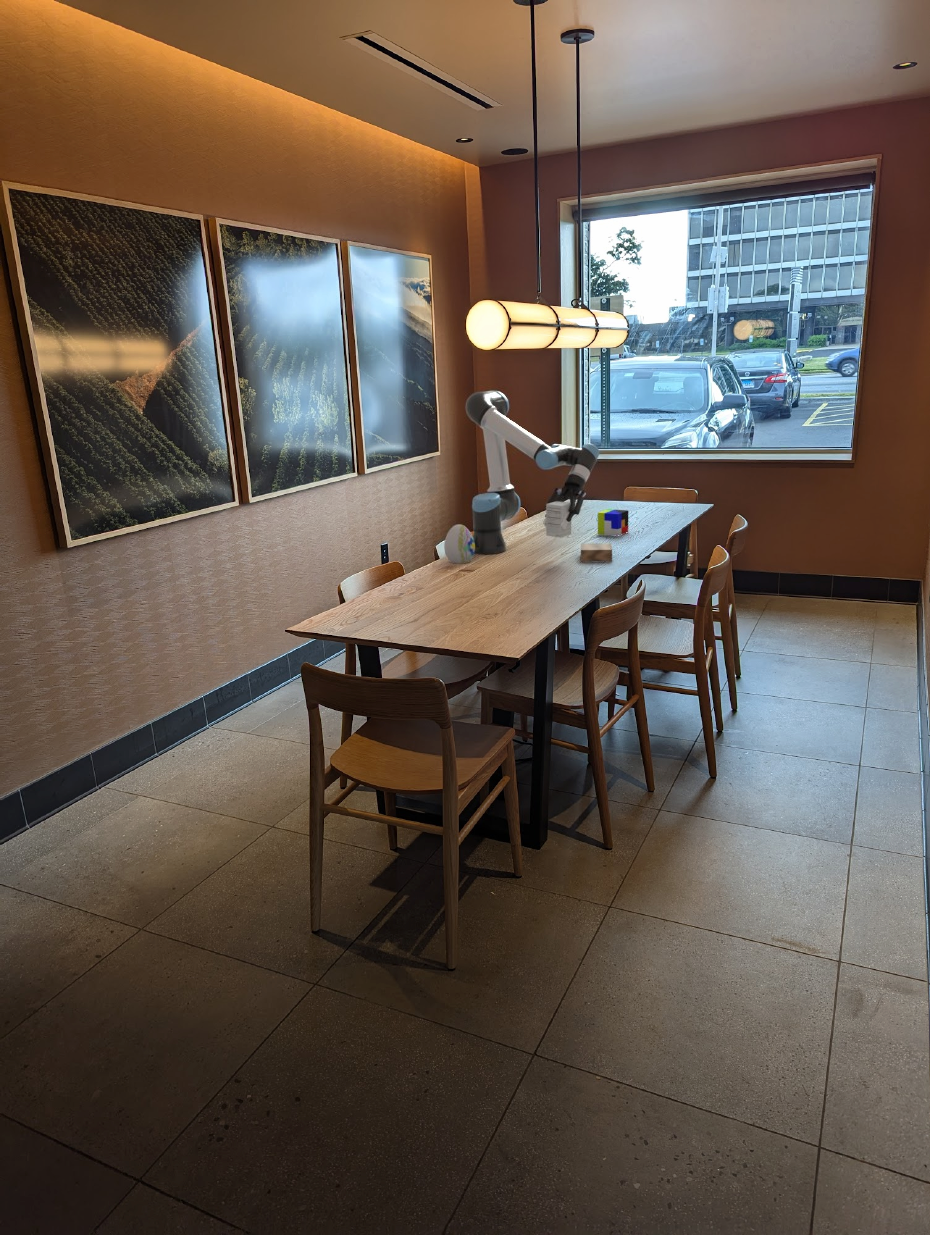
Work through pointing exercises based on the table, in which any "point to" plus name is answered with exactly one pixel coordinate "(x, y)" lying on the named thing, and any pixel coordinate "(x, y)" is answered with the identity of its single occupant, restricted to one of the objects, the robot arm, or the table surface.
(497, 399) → the robot arm
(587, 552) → the walnut box
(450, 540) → the decorative egg
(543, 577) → the table surface
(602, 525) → the puzzle toy
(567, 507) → the supplement box
